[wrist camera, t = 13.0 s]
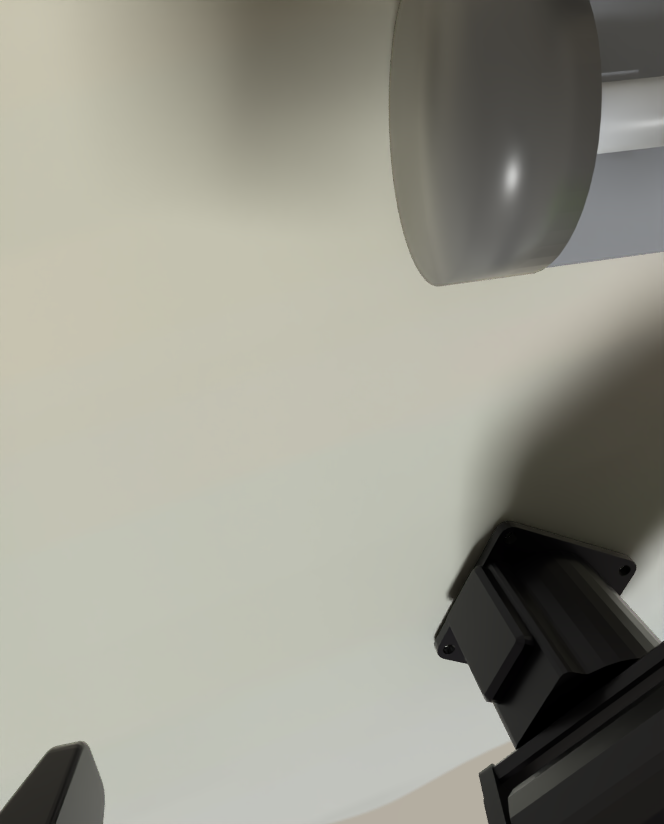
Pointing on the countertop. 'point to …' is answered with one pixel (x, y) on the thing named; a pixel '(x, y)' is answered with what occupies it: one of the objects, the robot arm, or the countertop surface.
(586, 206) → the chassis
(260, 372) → the countertop surface
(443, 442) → the countertop surface
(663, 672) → the robot arm
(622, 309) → the countertop surface
